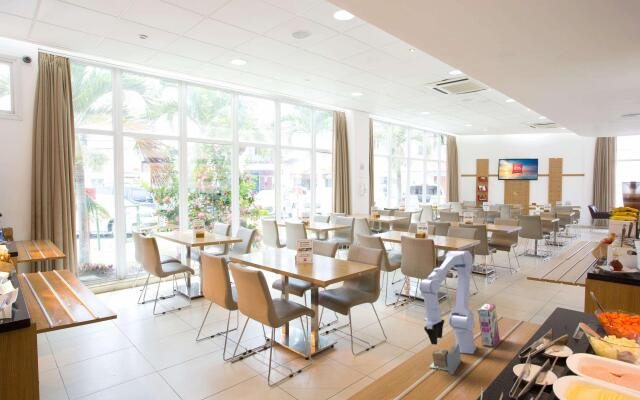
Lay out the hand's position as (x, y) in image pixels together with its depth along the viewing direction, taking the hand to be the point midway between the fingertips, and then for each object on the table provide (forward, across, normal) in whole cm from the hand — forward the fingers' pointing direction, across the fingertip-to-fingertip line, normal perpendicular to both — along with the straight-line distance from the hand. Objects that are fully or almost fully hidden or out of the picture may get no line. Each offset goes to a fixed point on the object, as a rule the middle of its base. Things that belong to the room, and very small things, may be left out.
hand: (436, 340), depth 156 cm
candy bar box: (+10, -30, +16) cm, 35 cm away
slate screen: (+10, +1, +6) cm, 12 cm away
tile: (+10, +1, +1) cm, 10 cm away
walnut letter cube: (+9, +1, +1) cm, 9 cm away
